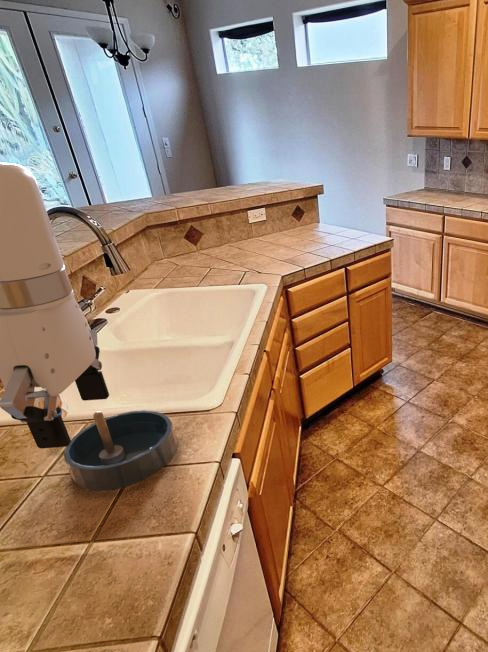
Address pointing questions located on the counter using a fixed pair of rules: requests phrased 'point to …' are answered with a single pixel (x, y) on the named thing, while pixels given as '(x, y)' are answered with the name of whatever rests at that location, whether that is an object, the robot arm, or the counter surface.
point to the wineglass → (60, 405)
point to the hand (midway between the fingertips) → (77, 420)
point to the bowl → (139, 446)
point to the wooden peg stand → (107, 442)
